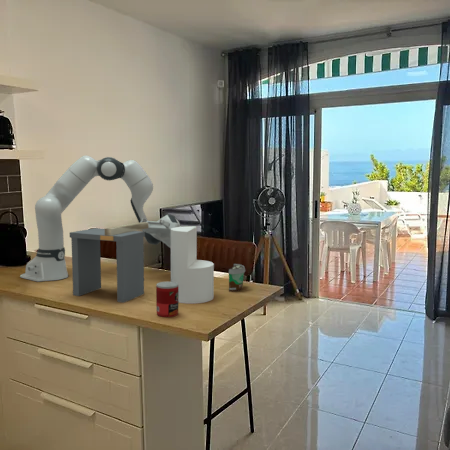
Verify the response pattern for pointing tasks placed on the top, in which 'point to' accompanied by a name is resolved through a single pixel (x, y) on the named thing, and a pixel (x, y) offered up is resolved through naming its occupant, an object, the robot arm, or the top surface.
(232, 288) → the food container
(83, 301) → the top surface
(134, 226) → the bar
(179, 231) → the white stepped pillar
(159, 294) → the canned food
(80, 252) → the grey step stool
